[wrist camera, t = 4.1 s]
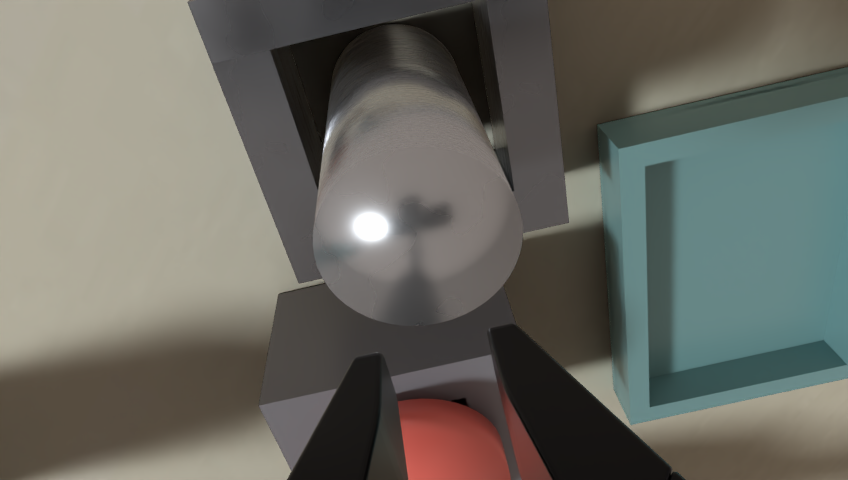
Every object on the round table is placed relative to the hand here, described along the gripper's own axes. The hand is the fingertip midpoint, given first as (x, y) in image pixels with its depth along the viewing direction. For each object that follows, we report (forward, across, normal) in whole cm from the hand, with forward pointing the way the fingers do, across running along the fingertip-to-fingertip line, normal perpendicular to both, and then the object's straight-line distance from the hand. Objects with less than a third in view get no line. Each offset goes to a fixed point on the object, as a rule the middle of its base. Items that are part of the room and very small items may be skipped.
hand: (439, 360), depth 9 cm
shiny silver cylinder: (+12, 0, 0) cm, 12 cm away
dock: (+12, +2, +10) cm, 16 cm away
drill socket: (+12, 0, 0) cm, 12 cm away
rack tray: (+12, -11, +9) cm, 19 cm away
